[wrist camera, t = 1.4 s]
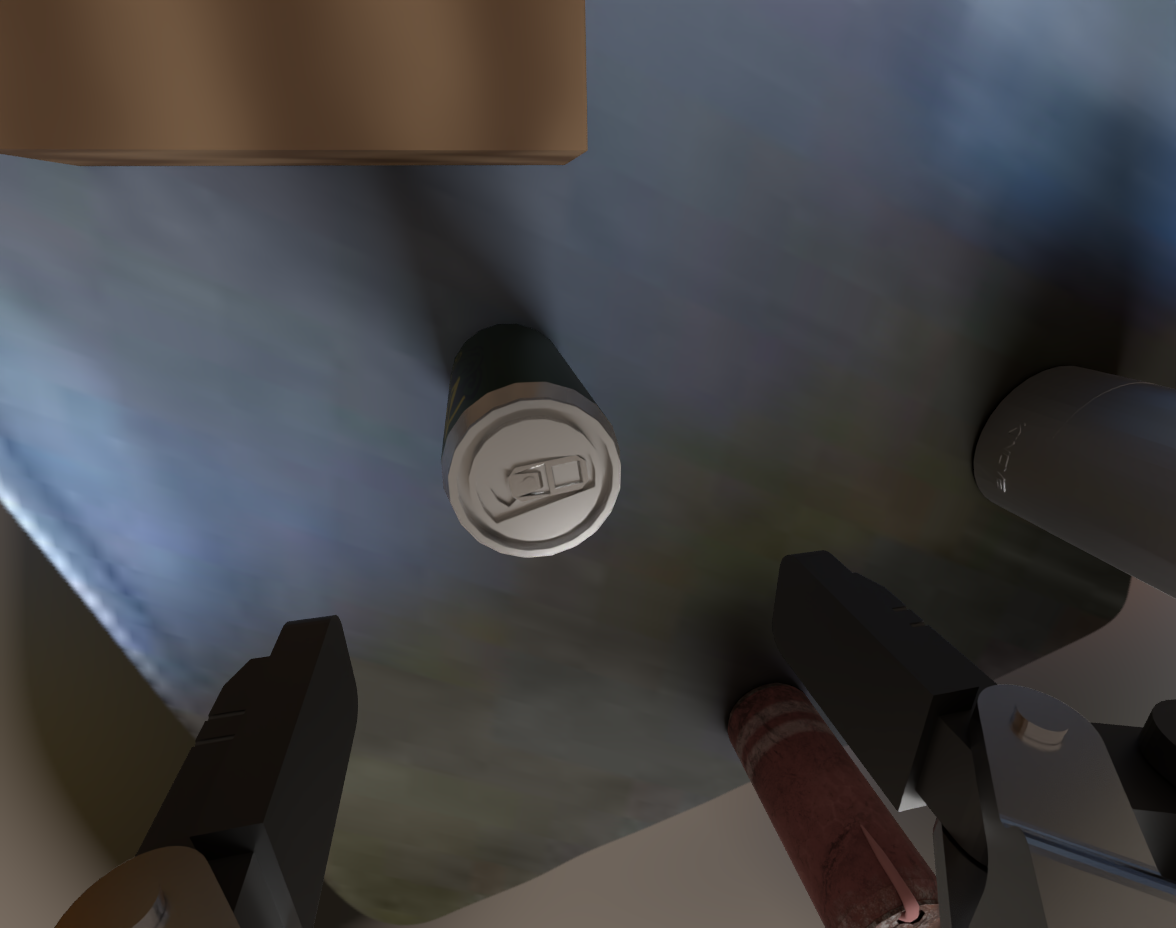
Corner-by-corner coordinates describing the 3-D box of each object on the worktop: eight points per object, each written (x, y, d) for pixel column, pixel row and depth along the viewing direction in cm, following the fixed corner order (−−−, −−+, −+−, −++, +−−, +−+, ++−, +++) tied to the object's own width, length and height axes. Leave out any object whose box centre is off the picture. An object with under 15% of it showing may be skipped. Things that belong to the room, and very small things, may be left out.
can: (799, 664, 38) (964, 881, 25) (809, 726, 41) (962, 950, 28) (716, 695, 38) (842, 932, 25) (731, 756, 40) (852, 997, 28)
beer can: (554, 311, 26) (617, 372, 15) (572, 419, 28) (638, 541, 17) (438, 332, 25) (415, 412, 14) (465, 441, 27) (464, 582, 17)
